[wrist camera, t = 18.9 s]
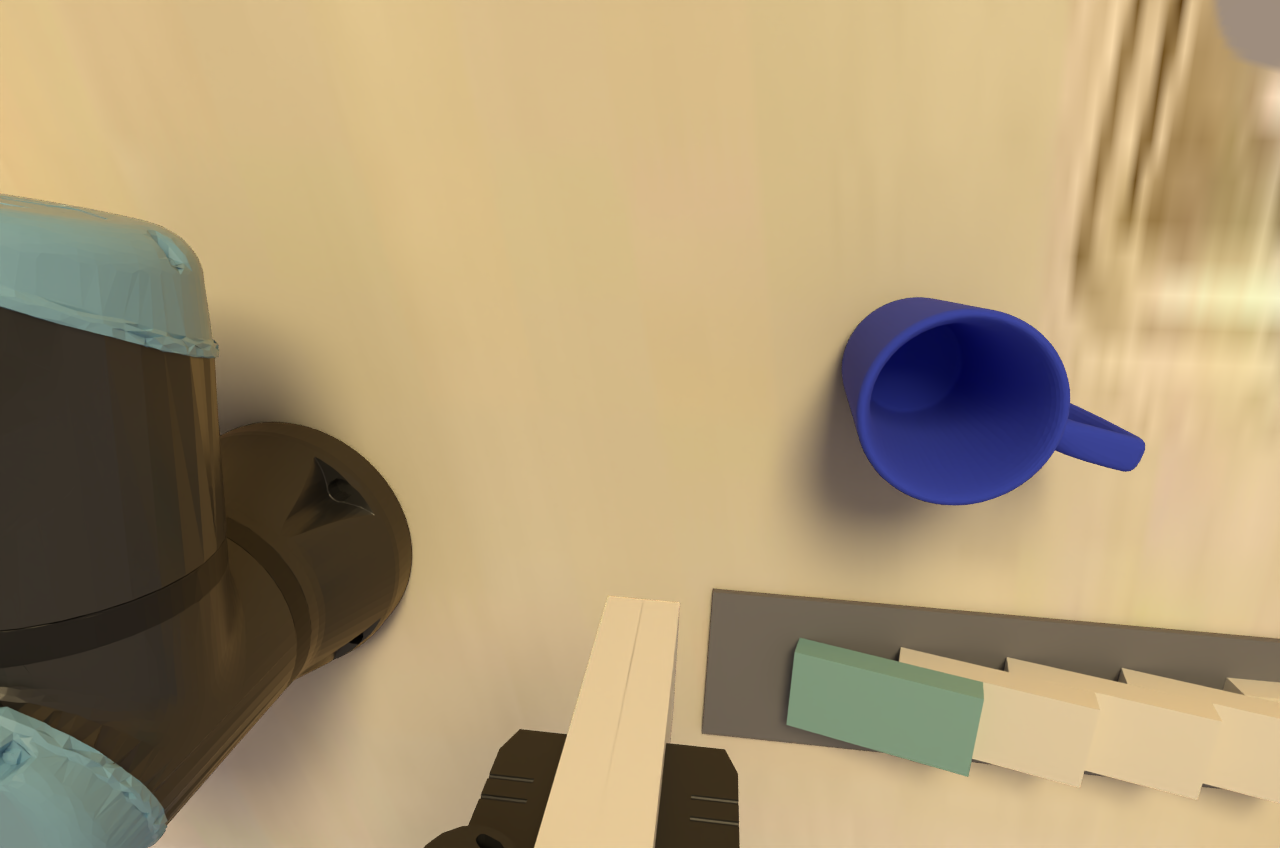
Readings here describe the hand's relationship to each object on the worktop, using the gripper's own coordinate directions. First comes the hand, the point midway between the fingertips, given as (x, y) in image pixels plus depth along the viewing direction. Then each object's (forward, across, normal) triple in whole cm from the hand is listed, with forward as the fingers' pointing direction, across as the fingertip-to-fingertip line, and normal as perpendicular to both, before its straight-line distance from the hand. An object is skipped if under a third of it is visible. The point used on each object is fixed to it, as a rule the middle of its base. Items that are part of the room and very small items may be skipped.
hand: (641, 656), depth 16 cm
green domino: (+25, +7, -18) cm, 32 cm away
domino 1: (+25, +13, -18) cm, 34 cm away
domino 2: (+25, +19, -18) cm, 36 cm away
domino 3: (+25, +25, -18) cm, 40 cm away
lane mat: (+26, +19, -18) cm, 37 cm away
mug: (+27, +13, +1) cm, 30 cm away
